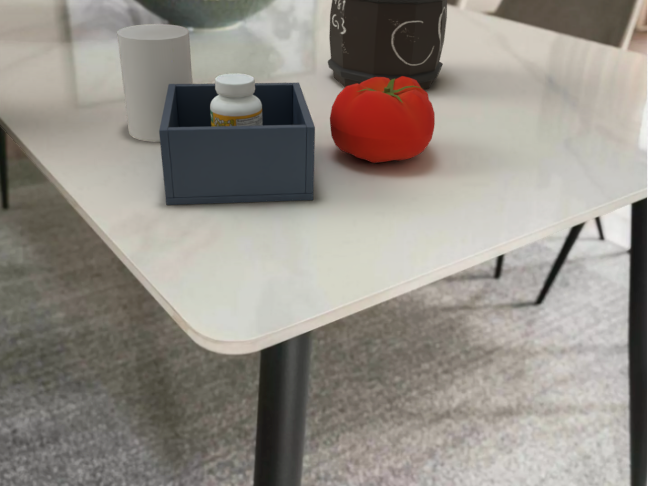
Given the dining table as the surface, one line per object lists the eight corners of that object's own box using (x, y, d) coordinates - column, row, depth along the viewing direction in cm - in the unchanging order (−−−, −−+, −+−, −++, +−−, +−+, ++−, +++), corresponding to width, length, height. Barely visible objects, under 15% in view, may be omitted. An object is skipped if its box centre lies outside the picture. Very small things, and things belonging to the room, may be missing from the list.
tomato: (376, 186, 72) (381, 108, 68) (308, 148, 81) (310, 77, 76) (460, 161, 79) (470, 89, 74) (389, 129, 87) (394, 62, 83)
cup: (207, 124, 87) (201, 28, 81) (174, 146, 80) (165, 43, 74) (151, 115, 89) (142, 21, 83) (115, 135, 82) (102, 35, 77)
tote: (166, 205, 67) (158, 130, 63) (174, 149, 79) (168, 83, 75) (313, 200, 69) (315, 127, 65) (298, 146, 81) (299, 82, 77)
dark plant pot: (461, 76, 109) (475, -28, 102) (409, 104, 96) (420, -13, 89) (366, 57, 118) (372, -40, 110) (306, 80, 105) (308, -29, 97)
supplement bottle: (271, 169, 73) (270, 82, 68) (225, 179, 71) (221, 89, 66) (249, 152, 77) (247, 68, 72) (205, 161, 75) (200, 74, 70)
